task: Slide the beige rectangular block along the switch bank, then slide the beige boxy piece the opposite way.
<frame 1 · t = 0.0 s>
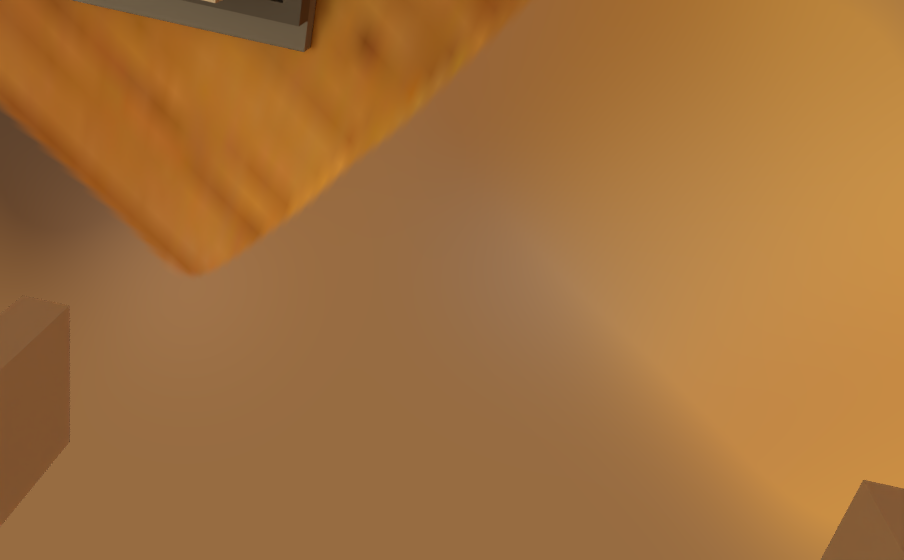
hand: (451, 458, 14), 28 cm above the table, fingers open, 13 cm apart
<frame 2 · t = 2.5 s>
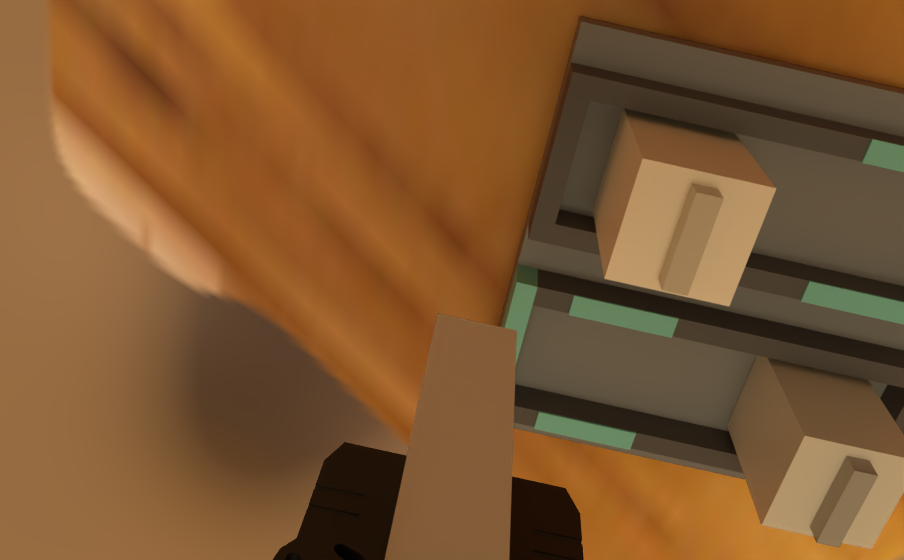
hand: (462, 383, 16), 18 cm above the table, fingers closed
beige boxy piece: (816, 448, 31), point 5 cm above the table, slide at 4.0 cm
switch bank: (723, 276, 34), on the table
beige rectangular block: (674, 204, 28), point 5 cm above the table, slide at -4.0 cm
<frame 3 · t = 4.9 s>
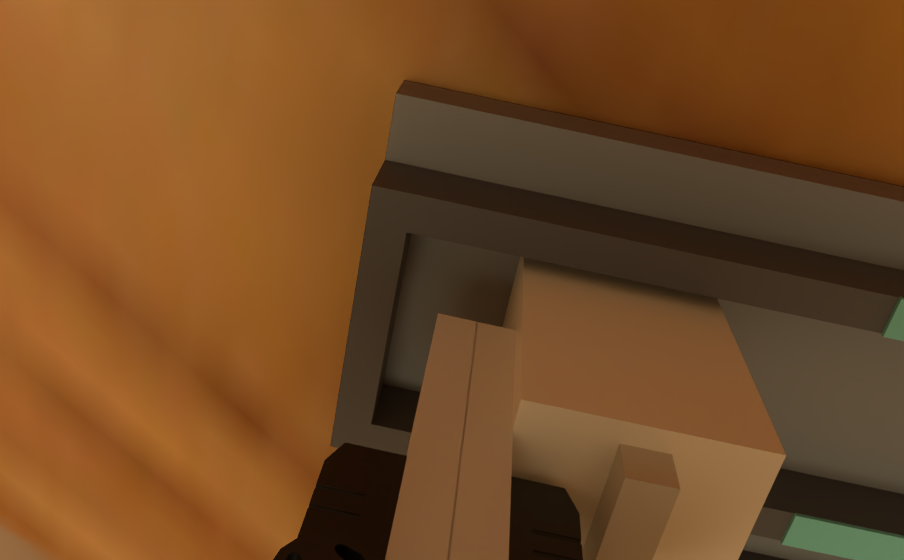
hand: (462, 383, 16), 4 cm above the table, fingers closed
switch bank: (662, 473, 22), on the table
beige rectangular block: (603, 431, 16), point 5 cm above the table, slide at -3.0 cm, touching gripper
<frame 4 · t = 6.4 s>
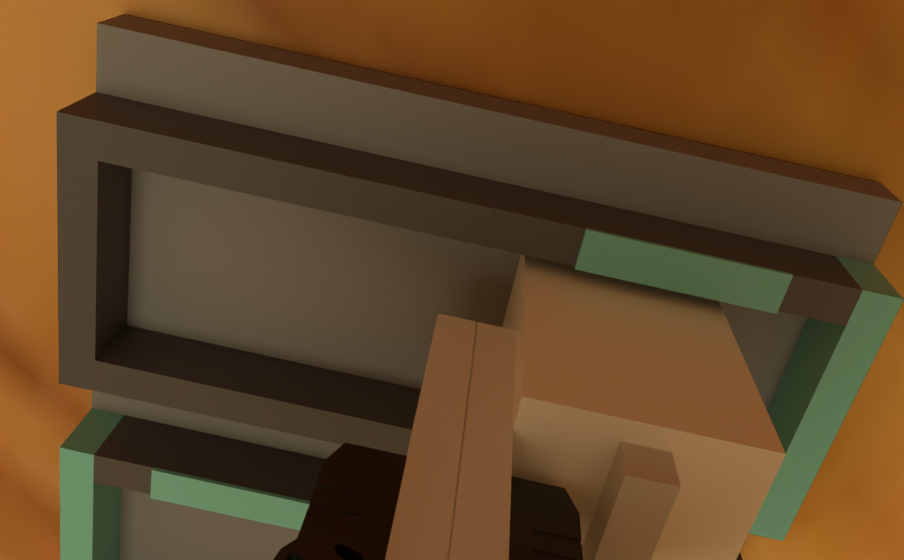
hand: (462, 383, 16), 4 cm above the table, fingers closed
switch bank: (429, 421, 22), on the table
beige rectangular block: (603, 429, 16), point 5 cm above the table, slide at 3.1 cm, touching gripper
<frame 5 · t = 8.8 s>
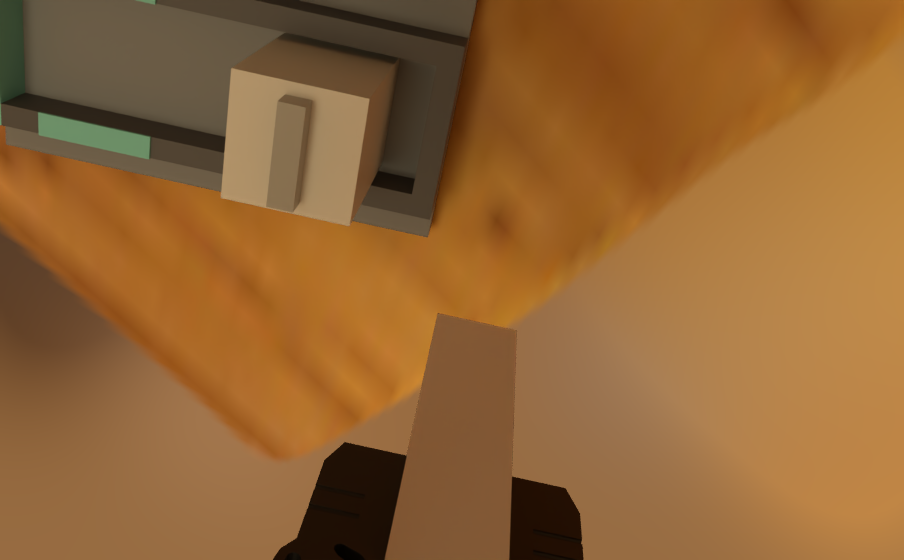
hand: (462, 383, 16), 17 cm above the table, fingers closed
beige boxy piece: (313, 125, 27), point 5 cm above the table, slide at 4.0 cm
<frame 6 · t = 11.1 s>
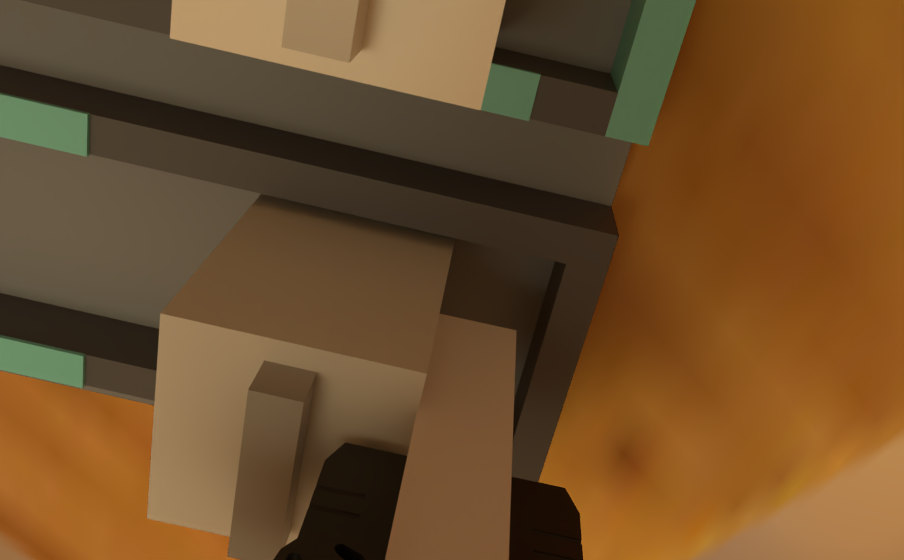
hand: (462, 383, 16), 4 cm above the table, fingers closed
beige boxy piece: (315, 364, 16), point 5 cm above the table, slide at 3.2 cm, touching gripper
switch bank: (244, 61, 18), on the table
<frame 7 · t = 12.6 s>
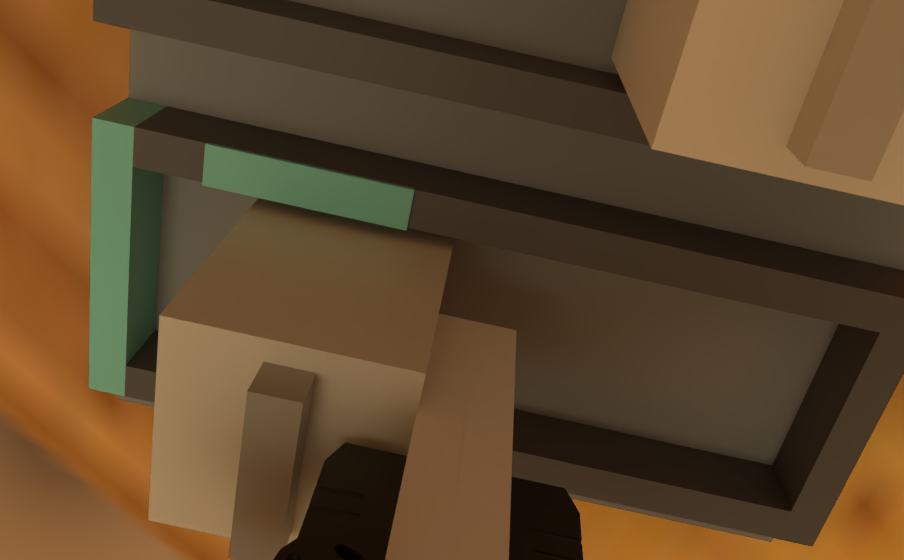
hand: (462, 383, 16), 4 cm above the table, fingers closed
beige boxy piece: (316, 365, 16), point 5 cm above the table, slide at -3.1 cm, touching gripper
switch bank: (529, 127, 18), on the table
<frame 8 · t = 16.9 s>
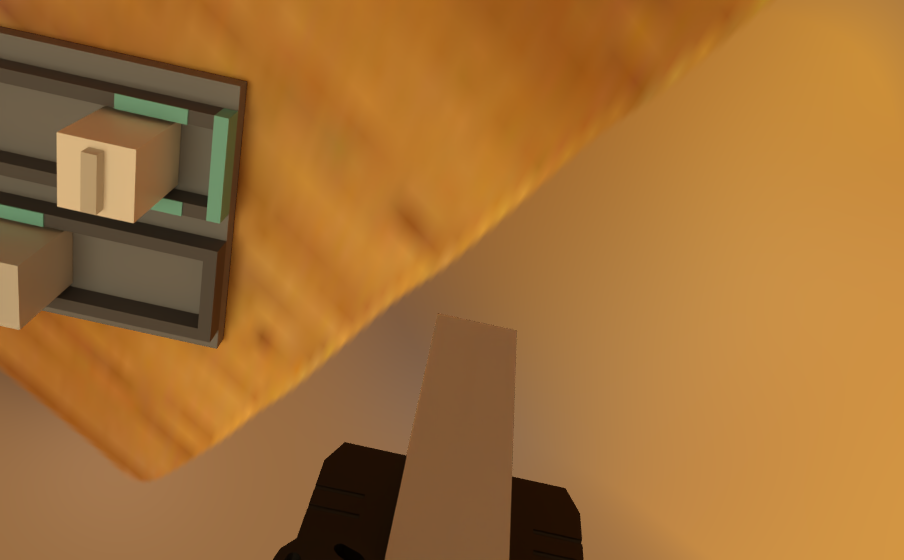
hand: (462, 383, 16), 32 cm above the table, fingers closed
beige boxy piece: (9, 270, 48), point 5 cm above the table, slide at -3.1 cm
switch bank: (100, 190, 51), on the table
beige rectangular block: (118, 162, 45), point 5 cm above the table, slide at 3.1 cm
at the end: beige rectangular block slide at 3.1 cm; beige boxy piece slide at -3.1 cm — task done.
